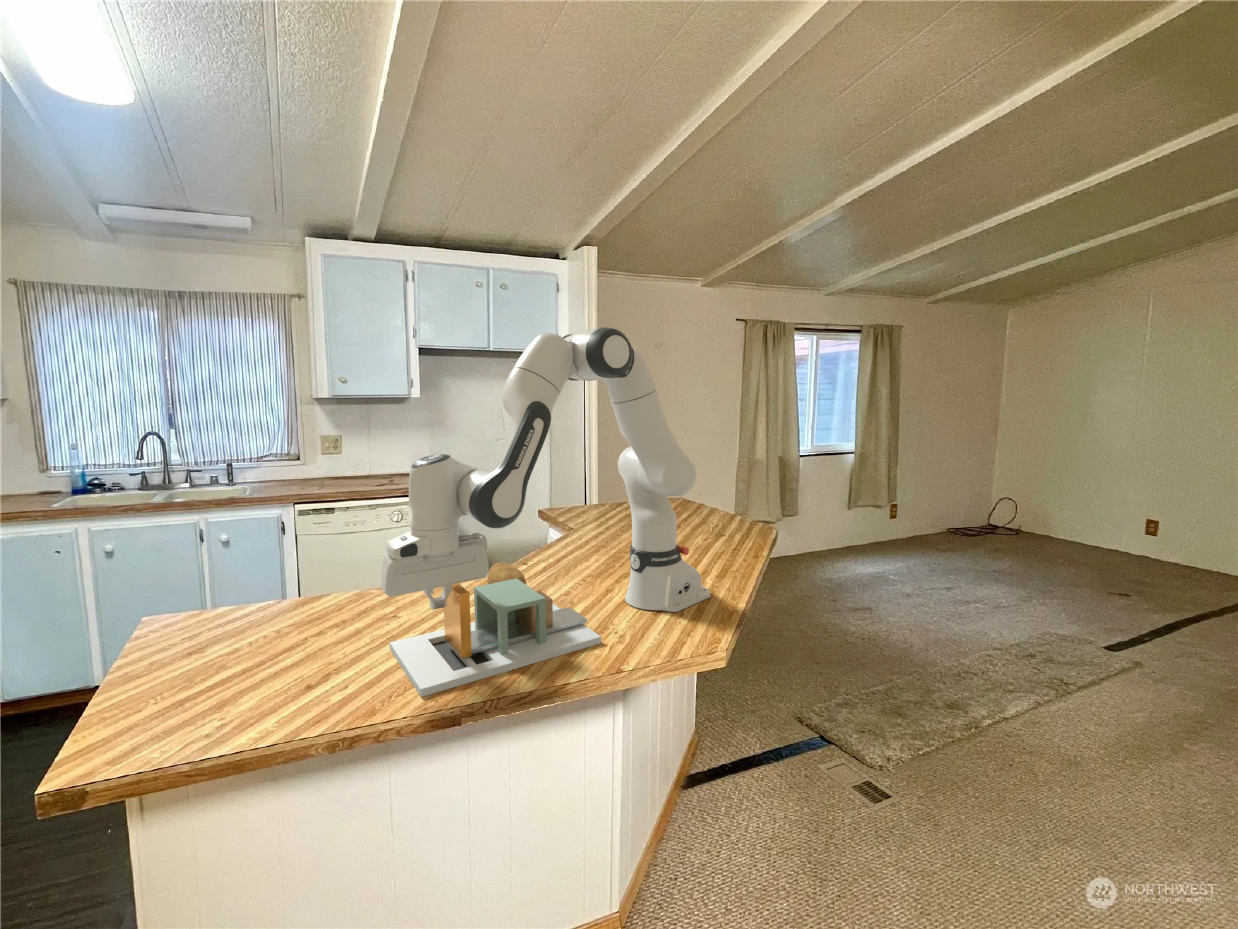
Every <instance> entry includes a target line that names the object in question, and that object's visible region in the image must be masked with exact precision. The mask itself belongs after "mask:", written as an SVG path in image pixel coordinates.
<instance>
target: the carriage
mask: <svg viewBox="0 0 1238 929" xmlns="http://www.w3.org/2000/svg"><path fill="white" fill-rule="evenodd" d="M443 590H444V589H443V588H442V591H443ZM535 591H536V592H538V593H539V594H540V595H542V596H543V597H545V598H546V634H548V633H552V632H555V631H559V630H563V629H566V628H570V627H574V626H577V625H581V624H584V625H585V624H588V619H587V618H586V617H585V616H583V615H582V614H581V613H579V612H577V611H576V610H575V609H573V608H571V607H570V606H567V607H563V608H560V609H559V610H555V611H553V604H554V603H553V598H552V597H550V596H548V595H547V594H545V593H544V592H542V591H541V590H535ZM470 598H471V597H470V592H469V591H468V590H467V589H466V588H465V587H464V586H462V584H461V583H457V584H452V591H451V593H450V595H449V596H448V598H447V607H443V620H444V621H443V622H444V623H443V624H444V625H443V626H444V629H445V640H446V641H447V643H448V644H449V645H450V647H451V648H452V649H453V650H454V651H455V652H456V653H457V655H458V656H459V657H461V658H466V657H469V656H472V654H475V653H478V652H482V651H486V650H489V649H493V648H497V647H498V625H495V626H491V627H487V628H483V629H479V630H475V631H471V623H472V622H471V603H470V602H471V600H470ZM533 637H536V605H534V606H530V607H526V608H521V609H517V610H515V621H511V622H508V644H511V643H515V642H519V641H522V640H526V639H530V638H533Z"/></svg>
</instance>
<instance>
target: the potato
mask: <svg viewBox="0 0 1238 929" xmlns="http://www.w3.org/2000/svg"><path fill="white" fill-rule="evenodd" d="M516 578H517V579H518V580H520V581H521V582H523V583H524V584H526V585H527V581H526V578H525V575H524V574H523V572H522V571H521V570H520V569H518V568H517V567H515V566H514V565H512V564H510V563H507V562H498V563H495V564H493V565H492V566H491V567H489V573H488V575H487V584H492V583H497V582H502V581H506V580H511V579H516Z"/></svg>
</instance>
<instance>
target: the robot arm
mask: <svg viewBox="0 0 1238 929" xmlns="http://www.w3.org/2000/svg"><path fill="white" fill-rule="evenodd" d="M645 359H646V358H644V355H643V354H642V352H641V351H639V350H638V349H637V348H634V347H633V346H632V344H631V342H630V340H629V338H628V337H627V336H626V335H625V334H624V333H623V332H622V331H620V330H619V329H616V328H613V327H600V328H590V329H589V328H588V329H583V330H581V331H578V332H575V333H570V334H567V335H564V336H561V335H558V334H556V333H552V332H543V333H542V332H541V333H540V334H538V335H537V336H535V337H534V339H533V340H532V341H530V343H529V344H528V345H527V347H526V348H525V349H524V351H523V352H522V354H521V355H520V356H519V358H517V361H516V362H515V364H514V366H513V367H512V369H511V370H510V372H509V375H508V377H507V378H506V381H505V383H504V384H503V388H502V393H501V400H502V404H503V408H504V409H505V411H506V413H507V415H509V416H510V418H511V419H512V421H513V431H512V434H511V437H510V440H509V441H508V444H507V446H506V448H505V451H504V454H503V456H502V458H501V460H500V462H499V465H498V466H497V467H496V469H494V470H493V471H489V470H487V469H485V468H484V469H483V468H479V467H476V466H471V465H468V464H466V463H463V462H461V461H459V460H457V459H454V458H453V457H452V456H451V455H450V454H447V453H446V454H445V453H442V454H441V453H438V454H431V455H427V456H423V457H420V458H418V459H417V460H416V461H414V462H413V463H412V465H411V466H410V470H409V475H408V505H409V508H410V512H411V520H410V523H409V524H410V526H409V528H410V530H408V531H406V532H404V533H402V534H400V535H397V536H395V537H393V538H391V539H388V540H387V541H385V544H384V545H385V546H384V547H385V550H386V553H387V554H386V555H385V557H384V558H383V559H382V560H383V561H382V562H381V563H382V564H381V572H380V585H381V590H382V592H383V594H385V595H386V596H387V597H389V598H394V597H398V596H402V595H408V594H412V593H418V592H423V593H424V594H425V596H426V597H427V598H428V600H429V607H430V609H431V610H432V611H434V610H438V609H442V608H443V609H444V607H447V598H448V596H449V595H450V593H451V591H452V584H457V583H459V584H462V583H466V582H472V581H476V580H480V579H485V578H487V577H488V573H489V570H490V567H489V560H488V555H487V550H488V538H487V537H486V535H484V534H481V533H480V532H473V533H470V534H468V533H467V534H460V531H459V530H460V529H459V519H460V518H461V517H464V516H468V517H469V518H472V519H475V520H476V521H477V522H479V523H480V524H482V525H484V526H485V527H486V528H489V529H503V528H505V527H507V526H510V525H511V524H512V523H514V522H515V521H516V520H517V519H518V518H519V516H520V515H521V513H522V512H523V509H524V505H525V502H526V495H527V489H528V483H529V481H530V478H531V476H532V473H533V471H534V468H535V465H536V463H537V461H538V458H539V457H540V454H541V452H542V448H543V447H544V444H545V441H546V440H547V436H548V433H549V431H550V426H551V423H552V422H551V421H552V412H553V410H554V407H555V405H556V403H557V401H558V398H559V396H560V394H561V392H562V391H563V388H564V387H565V384H566V383H567V382H568V380H569V381H574V382H575V381H576V382H577V381H578V382H579V381H581V382H583V381H586V382H591V381H592V382H593V381H596V380H601V381H602V382H603V383H604V385H605V386H606V388H607V392H608V397H609V399H610V404H611V407H612V409H613V410H612V411H613V413H614V416H615V420H616V422H617V426H618V430H619V432H620V434H621V435H622V437H623V438H624V439H625V440H626V441H627V442H628V444H629V446H628V447H627V448H625V449H624V450H623V451H622V452H621V453H620V455H619V457H618V460H617V469H618V473H619V475H620V476H621V478H622V480H623V482H624V485H625V489H626V494H627V497H628V502H629V506H630V513H631V544H630V546H629V548H630V549H629V562H630V572H629V580H628V585H627V589H626V593H625V597H624V600H625V603H627V604H628V605H629V606H631V607H634V608H637V609H640V610H646V611H647V610H649V611H665V612H670V613H677V612H680V611H682V610H684V609H686V608H689V607H691V606H693V605H695V604H698V603H700V602H702V601H705V600H707V599H709V598H711V596H712V595H711V591H710V590H709V589H708V588H706V587H705V586H703V585H702V578H701V574H700V572H699V570H697V568H695V567H693V566H692V565H691V564H689V562H686V561H685V560H684V559H682V555H685V556H687V555H689V553H690V548H689V547H687V546H684V545H681V546H679V545H678V544H677V522H678V521H677V515H676V511H675V510H674V508H673V507H672V505H671V502H670V500H669V497H682V496H685V495H687V494H688V493H689V492H690V491H691V490H692V489H693V487H694V486H695V483H696V479H697V468H696V465H695V463H694V462H693V460H692V459H690V457H688V456H687V454H686V453H685V452H684V451H683V449H682V448H681V446H680V445H679V443H678V441H677V440H676V438H675V436H674V434H673V432H672V430H671V428H670V426H669V425H668V422H667V420H666V418H665V415H664V412H663V407H662V405H661V402H660V398H659V395H658V392H657V388H656V384H655V382H654V378H653V375H652V373H651V371H650V367H649V366H648V364H647V361H646V360H645ZM681 554H682V555H681ZM437 588H442V593H441V595H440V596H438V597H434V596H433V594H434V590H435V589H437ZM443 589H444V590H443Z"/></svg>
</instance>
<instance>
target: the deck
mask: <svg viewBox="0 0 1238 929" xmlns="http://www.w3.org/2000/svg"><path fill="white" fill-rule="evenodd" d="M559 609H561V607H559V606H557V605H556V604H555V603H553V611H555V610H559ZM471 631H475V621H474V622H471ZM600 644H602V636H601V635H599V634H598V633H597V632H595V631H594V630H592V629H591V628H589V627H588V626H586V625H585V624H581V625H577V626H574V627H570V628H566V629H563V630H559V631H555V632H552V633H548V634H546V643H543V644H539V643H538V642H537V639H536V637H533V638H530V639H526V640H522V641H519V642H515V643H511V644H508V653H507V654H503V655H501V654H500V653H499V652H498V647H497V648H493V649H489V650H486V651H482V652H478V653H475V654H472V656H469V657H466V658H461V657H459V656H458V655H457V653H456V652H455V651H454V650H453V649H452V648H451V647H450V645H449V644H448V643H447V641H446V640H445V628H444V629H439V630H436V631H430V632H427V633H424V634H423V633H422V634H418V635H414V636H412V637H410V636H409V637H406V638H402V639H397V640H395V641H394V640H393V641H389V650H390V652H391V651H392V652H391V653H392V655H393V654H394V655H393V656H394V658H395V657H396V658H395V659H396V661H397V662H398V664H399V666H400V667H401V668H402V670H403V672H404V673H405V675H406V677H407V678H408V680H409V681H410V683H411V684H412V686H413V687H414V689H415V690H416V691H417V693H418V695H419V696H420V698H423V697H426V696H430V695H433V694H436V693H439V692H444V691H447V690H449V689H453V688H456V687H460V686H463V685H466V684H470V683H473V682H476V681H480V680H483V679H486V678H489V677H492V676H493V677H494V676H496V675H499V674H503V673H506V672H510V671H512V670H516V669H520V668H522V667H526V666H529V665H533V664H536V663H539V662H542V661H546V660H550V659H553V658H557V657H559V656H563V655H567V654H569V653H573V652H577V651H579V650H582V649H583V650H584V649H586V648H590V647H593V646H596V645H600Z"/></svg>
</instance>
